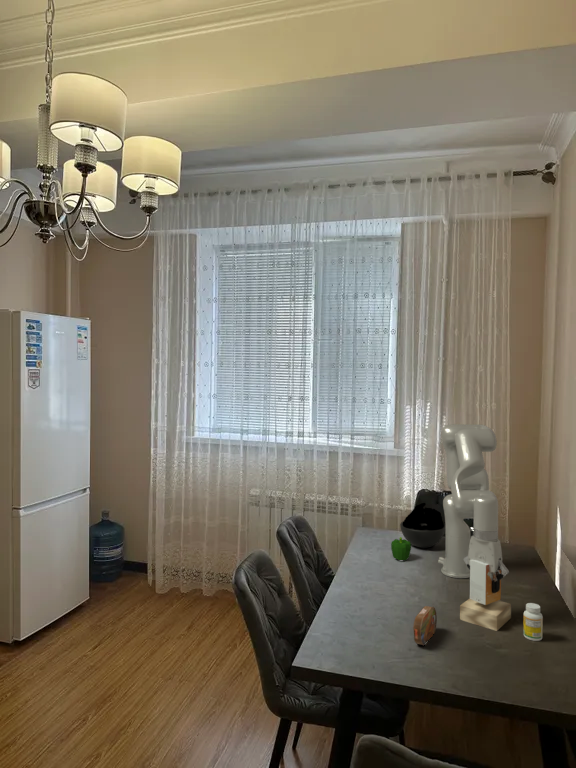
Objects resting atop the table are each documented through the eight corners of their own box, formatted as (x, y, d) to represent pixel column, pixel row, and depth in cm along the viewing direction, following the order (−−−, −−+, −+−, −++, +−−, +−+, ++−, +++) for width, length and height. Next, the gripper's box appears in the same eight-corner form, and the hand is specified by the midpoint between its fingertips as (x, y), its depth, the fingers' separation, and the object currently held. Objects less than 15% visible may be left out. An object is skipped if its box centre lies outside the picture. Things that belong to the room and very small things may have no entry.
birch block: (459, 620, 181) (460, 605, 180) (475, 608, 190) (475, 594, 189) (496, 632, 173) (496, 616, 173) (510, 619, 182) (511, 603, 181)
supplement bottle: (538, 643, 165) (538, 611, 165) (520, 636, 169) (520, 605, 168) (545, 637, 168) (545, 605, 168) (527, 631, 172) (528, 600, 172)
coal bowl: (431, 556, 241) (431, 513, 241) (391, 547, 255) (391, 506, 254) (452, 546, 256) (452, 505, 256) (414, 537, 270) (414, 498, 269)
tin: (422, 650, 161) (422, 621, 161) (411, 647, 163) (411, 619, 162) (437, 629, 174) (437, 603, 174) (427, 627, 175) (427, 601, 175)
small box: (485, 605, 176) (485, 565, 176) (469, 599, 182) (469, 559, 181) (501, 599, 181) (501, 560, 180) (484, 593, 186) (485, 554, 186)
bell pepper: (396, 554, 244) (396, 532, 244) (413, 558, 240) (413, 535, 239) (387, 560, 238) (387, 537, 237) (405, 564, 233) (405, 540, 232)
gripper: (455, 530, 185) (455, 583, 186) (504, 542, 171) (503, 600, 172) (469, 526, 190) (468, 578, 190) (516, 538, 176) (516, 594, 177)
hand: (485, 588), depth 181 cm, fingers closed on small box, 6 cm apart
